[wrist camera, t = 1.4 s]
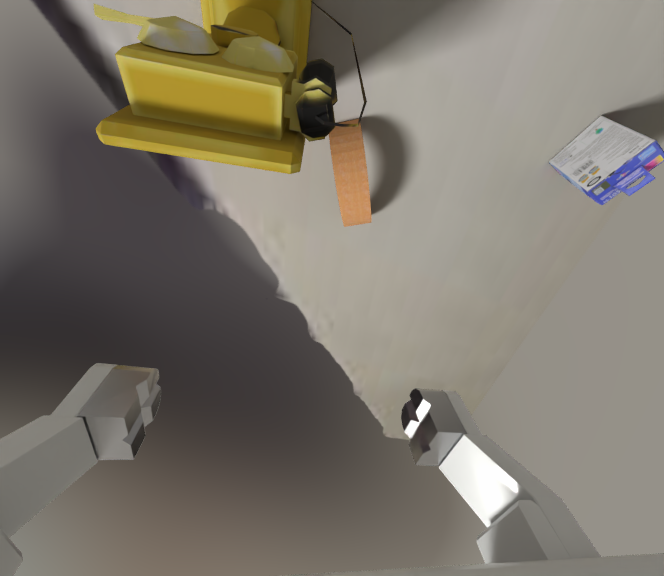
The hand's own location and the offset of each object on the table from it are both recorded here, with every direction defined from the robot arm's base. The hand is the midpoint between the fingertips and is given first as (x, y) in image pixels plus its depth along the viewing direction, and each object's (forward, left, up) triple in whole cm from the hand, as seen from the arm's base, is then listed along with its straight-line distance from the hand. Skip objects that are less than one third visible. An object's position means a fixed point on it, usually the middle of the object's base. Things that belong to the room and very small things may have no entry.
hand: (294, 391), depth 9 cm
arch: (+9, +15, -53) cm, 56 cm away
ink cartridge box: (-24, +45, -53) cm, 73 cm away
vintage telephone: (+1, -9, -53) cm, 53 cm away
